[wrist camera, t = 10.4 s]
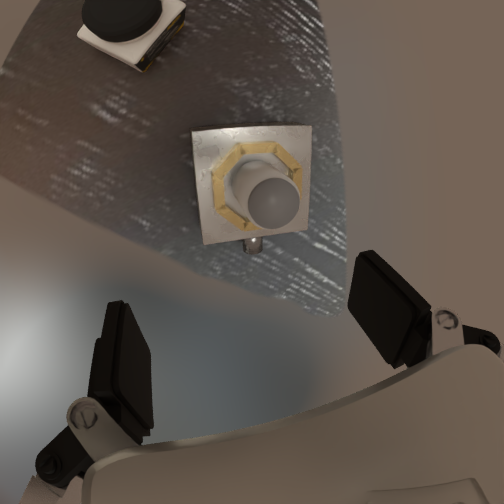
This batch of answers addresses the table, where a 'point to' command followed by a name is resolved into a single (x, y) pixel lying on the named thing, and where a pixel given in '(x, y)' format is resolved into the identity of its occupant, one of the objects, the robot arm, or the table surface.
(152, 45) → the medicine bottle
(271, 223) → the short grey cylinder
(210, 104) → the table surface
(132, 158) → the table surface
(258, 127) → the block
